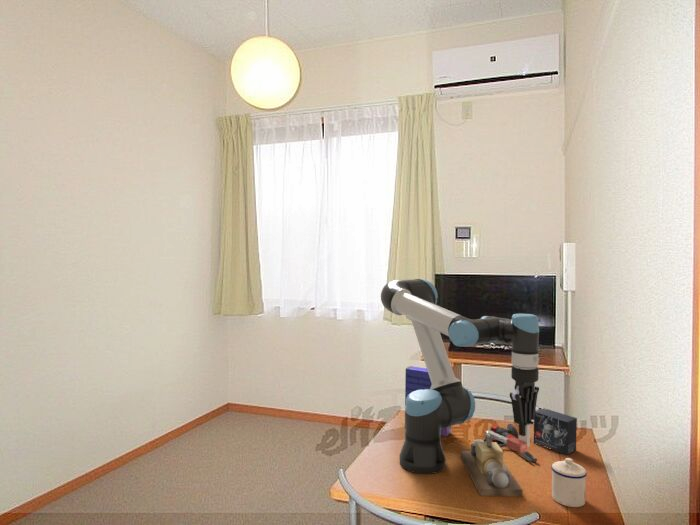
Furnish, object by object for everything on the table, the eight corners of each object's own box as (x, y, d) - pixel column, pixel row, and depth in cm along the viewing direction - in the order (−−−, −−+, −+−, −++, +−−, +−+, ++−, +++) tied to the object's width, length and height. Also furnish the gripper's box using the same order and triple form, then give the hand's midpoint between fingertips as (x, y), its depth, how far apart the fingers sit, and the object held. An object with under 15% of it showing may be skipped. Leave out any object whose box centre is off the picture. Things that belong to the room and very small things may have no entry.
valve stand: (480, 495, 135) (480, 454, 135) (460, 456, 161) (461, 422, 161) (522, 496, 135) (522, 455, 134) (496, 457, 161) (496, 422, 160)
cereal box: (450, 432, 182) (451, 371, 182) (446, 436, 178) (447, 374, 178) (409, 424, 192) (410, 365, 191) (404, 427, 187) (405, 368, 187)
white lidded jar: (593, 507, 129) (594, 465, 129) (563, 509, 128) (564, 467, 128) (566, 485, 141) (567, 447, 141) (538, 487, 140) (539, 449, 140)
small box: (532, 443, 173) (533, 411, 173) (542, 439, 177) (543, 407, 177) (567, 455, 163) (567, 421, 162) (577, 451, 167) (577, 417, 167)
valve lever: (482, 436, 148) (482, 429, 148) (489, 434, 149) (489, 427, 149) (520, 453, 136) (520, 445, 135) (527, 451, 137) (527, 443, 137)
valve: (470, 441, 179) (505, 433, 183) (508, 476, 154) (548, 465, 158) (469, 425, 179) (504, 417, 182) (506, 457, 154) (546, 447, 157)
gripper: (525, 372, 131) (524, 455, 132) (547, 365, 140) (547, 443, 140) (501, 367, 137) (500, 447, 138) (524, 361, 146) (523, 436, 146)
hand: (524, 445), depth 139 cm, fingers closed
